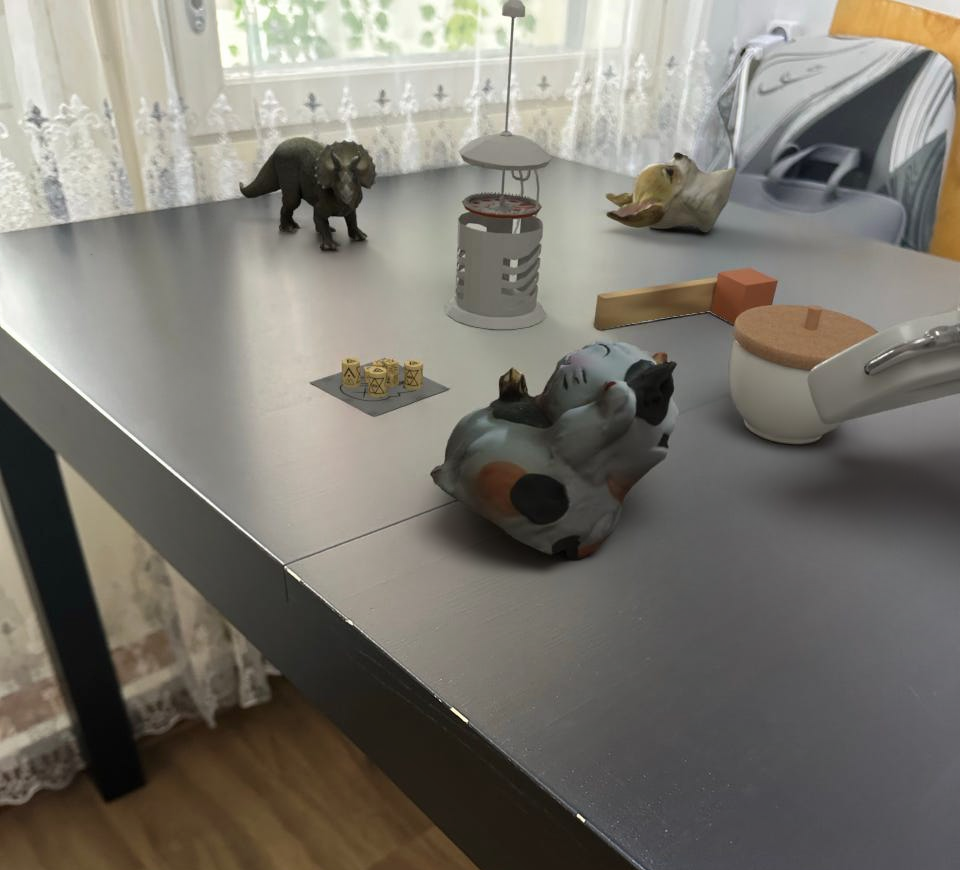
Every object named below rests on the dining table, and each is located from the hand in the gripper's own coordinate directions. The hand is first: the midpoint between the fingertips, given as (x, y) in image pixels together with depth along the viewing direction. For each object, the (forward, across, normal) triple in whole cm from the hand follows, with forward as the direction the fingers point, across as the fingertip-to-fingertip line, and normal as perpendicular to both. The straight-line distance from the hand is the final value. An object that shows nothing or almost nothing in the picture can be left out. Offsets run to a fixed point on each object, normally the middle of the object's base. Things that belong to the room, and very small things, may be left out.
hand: (863, 404), depth 67 cm
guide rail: (+24, +6, +18) cm, 30 cm away
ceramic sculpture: (+42, +25, +35) cm, 60 cm away
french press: (+30, -8, +23) cm, 39 cm away
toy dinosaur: (+49, -16, +42) cm, 67 cm away
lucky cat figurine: (+6, -24, -1) cm, 25 cm away
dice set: (+22, -26, +15) cm, 37 cm away
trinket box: (+8, 0, +1) cm, 8 cm away
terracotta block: (+22, +13, +16) cm, 30 cm away
